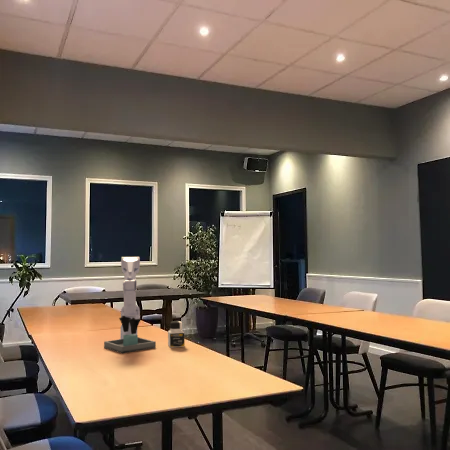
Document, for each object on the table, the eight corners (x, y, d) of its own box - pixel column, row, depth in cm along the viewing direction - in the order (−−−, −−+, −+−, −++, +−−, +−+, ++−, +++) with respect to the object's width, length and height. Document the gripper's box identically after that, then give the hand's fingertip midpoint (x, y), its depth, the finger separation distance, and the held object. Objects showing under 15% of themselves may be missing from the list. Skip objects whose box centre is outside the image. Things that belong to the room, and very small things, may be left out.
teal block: (123, 345, 225) (123, 335, 225) (132, 344, 228) (132, 333, 228) (128, 347, 221) (128, 336, 221) (137, 345, 224) (137, 335, 224)
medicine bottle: (170, 347, 223) (170, 322, 224) (167, 345, 230) (167, 320, 231) (184, 346, 225) (184, 322, 226) (182, 344, 232) (181, 320, 233)
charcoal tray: (104, 347, 225) (104, 341, 225) (136, 342, 237) (136, 336, 237) (122, 353, 211) (122, 346, 212) (155, 347, 223) (155, 341, 223)
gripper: (115, 304, 228) (115, 331, 227) (130, 306, 217) (129, 335, 216) (128, 302, 233) (127, 330, 232) (143, 305, 222) (143, 333, 221)
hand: (129, 332), depth 225 cm, fingers open, 7 cm apart
